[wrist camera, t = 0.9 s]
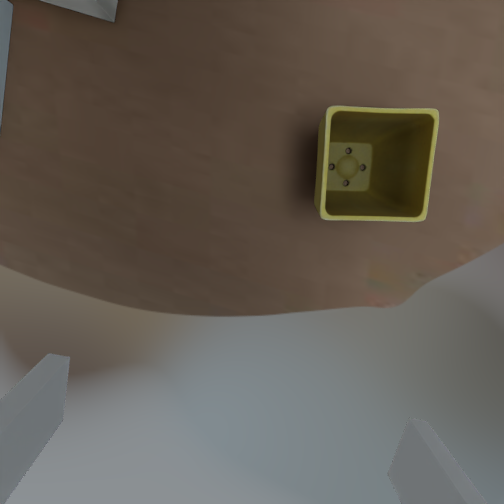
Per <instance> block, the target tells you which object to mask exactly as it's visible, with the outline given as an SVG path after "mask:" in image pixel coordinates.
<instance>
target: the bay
mask: <svg viewBox="0 0 504 504" xmlns="http://www.w3.org/2000/svg"><path fill="white" fill-rule="evenodd" d="M40 1H43V2H47V3H50V4H53V5H57V6H60V7H64V8H67V9H70V10H74V11H77V12H80V13H84V14H87V15H90V16H94V17H97V18H101V19H104V20H107V21H111V22H114V21H115V15H116V9H117V2H118V0H40Z"/></svg>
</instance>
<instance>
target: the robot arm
mask: <svg viewBox="0 0 504 504" xmlns="http://www.w3.org/2000/svg"><path fill="white" fill-rule="evenodd" d="M69 362H70V357H67V356H61V355H56V354H50V353H48V354H47V355H46V356H45V357H44V358H43V359H42V360H41V361H40V362H39V363H38V364H37V365H36V366H35V367H34V368H33V369H32V370H31V371H30V372H29V373H28V374H27V375H26V376H25V377H24V378H22V379H21V380H20V381H19V382H18V383H17V384H16V385H15V386H14V387H13V388H12V389H11V390H10V391H9V392H8V393H7V394H6V395H5V396H4V397H3V398H2V399H1V400H0V504H4V503H5V502H6V501H7V499H8V498H9V496H10V495H11V493H12V492H13V490H14V489H15V488H16V486H17V485H18V483H19V482H20V481H21V479H22V478H23V476H24V475H25V474H26V472H27V471H28V469H29V468H30V467H31V465H32V463H33V462H34V461H35V459H36V458H37V457H38V455H39V454H40V452H41V451H42V450H43V448H44V447H45V445H46V444H47V442H48V441H49V440H50V438H51V437H52V435H53V434H54V433H55V431H56V430H57V428H58V427H59V425H60V424H61V422H62V421H63V415H64V406H65V397H66V388H67V380H68V371H69ZM388 476H389V478H390V481H391V483H392V484H393V487H394V489H395V491H396V493H397V495H398V497H399V499H400V502H401V504H487V502H486V501H485V499H484V498H483V497H482V495H481V494H480V493H479V491H478V490H477V489H476V487H475V486H474V484H473V483H472V482H471V480H470V479H469V478H468V476H467V475H466V473H465V472H464V471H463V469H462V468H461V467H460V465H459V464H458V463H457V461H456V460H455V459H454V457H453V456H452V454H451V453H450V452H449V451H448V449H447V448H446V446H445V445H444V443H443V442H442V441H441V439H440V438H439V437H438V436H437V434H436V432H435V431H434V430H433V428H432V427H431V426H430V424H429V423H428V422H427V421H424V420H419V419H414V418H409V419H408V421H407V424H406V427H405V429H404V432H403V435H402V437H401V440H400V442H399V445H398V448H397V451H396V453H395V456H394V458H393V461H392V464H391V466H390V469H389V471H388Z"/></svg>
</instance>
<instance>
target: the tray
mask: <svg viewBox="0 0 504 504" xmlns="http://www.w3.org/2000/svg"><path fill="white" fill-rule="evenodd" d="M12 13H13V4H11V3H10V2H9V1H7V0H0V130H1V120H2V110H3V101H4V91H5V81H6V71H7V62H8V52H9V42H10V32H11V23H12Z"/></svg>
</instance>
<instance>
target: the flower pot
mask: <svg viewBox="0 0 504 504" xmlns="http://www.w3.org/2000/svg"><path fill="white" fill-rule="evenodd" d="M438 126H439V112H438V110H437V109H432V108H372V107H351V106H330V107H329V108H327V111H326V112H325V114H324V116H323V118H322V120H321V122H320V125H319V133H318V153H317V171H316V185H315V197H314V204H315V207H316V209H317V211H318V213H319V215H320V217H321V218H322V219H324V220H358V221H399V222H420V221H423V220H425V218H426V215H427V209H428V202H429V192H430V185H431V176H432V168H433V161H434V154H435V147H436V140H437V134H438ZM347 148H350V149H351V153H350V154H347V153H346V149H347ZM330 164H333V165H334V169H332V170H331V169H329V165H330ZM361 165H364V166H365V169H364V170H361V169H360V166H361ZM345 180H347V181H348V185H347V186H344V185H343V182H344V181H345Z"/></svg>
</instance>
